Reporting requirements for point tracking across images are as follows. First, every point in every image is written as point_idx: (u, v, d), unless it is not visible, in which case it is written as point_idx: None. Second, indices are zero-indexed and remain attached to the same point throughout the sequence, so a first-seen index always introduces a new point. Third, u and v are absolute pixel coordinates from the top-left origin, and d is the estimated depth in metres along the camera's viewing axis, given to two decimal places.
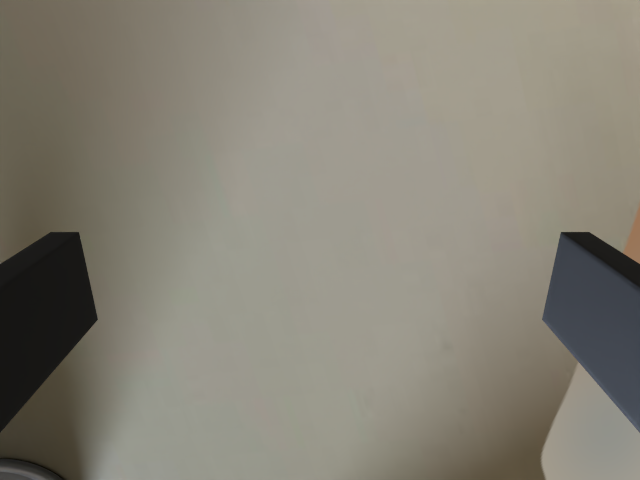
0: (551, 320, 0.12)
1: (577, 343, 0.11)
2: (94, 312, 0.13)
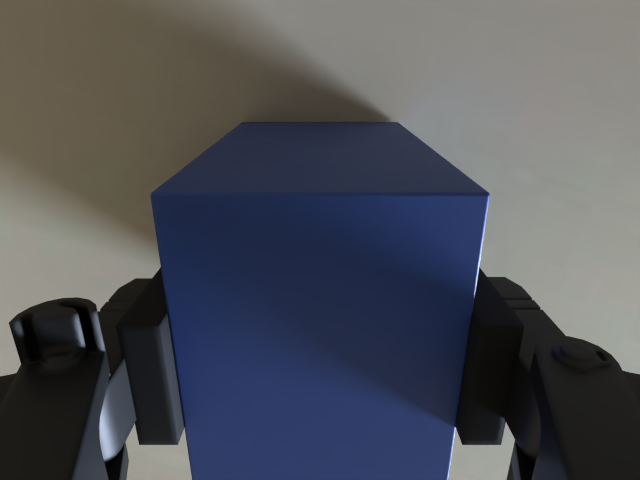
0: None
1: None
2: None
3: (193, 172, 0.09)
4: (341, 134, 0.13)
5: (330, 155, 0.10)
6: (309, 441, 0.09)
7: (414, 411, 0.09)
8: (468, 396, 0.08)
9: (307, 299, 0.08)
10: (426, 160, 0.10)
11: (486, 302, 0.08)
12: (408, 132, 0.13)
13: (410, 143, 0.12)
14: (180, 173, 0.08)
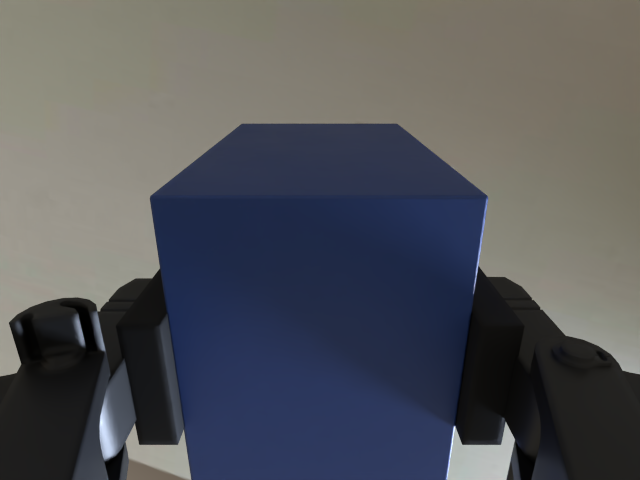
0: None
1: None
2: None
3: (192, 175, 0.09)
4: (340, 136, 0.13)
5: (329, 157, 0.10)
6: (308, 443, 0.09)
7: (412, 412, 0.09)
8: (468, 396, 0.08)
9: (306, 301, 0.08)
10: (425, 162, 0.10)
11: (486, 302, 0.08)
12: (407, 134, 0.13)
13: (409, 145, 0.12)
14: (179, 176, 0.08)
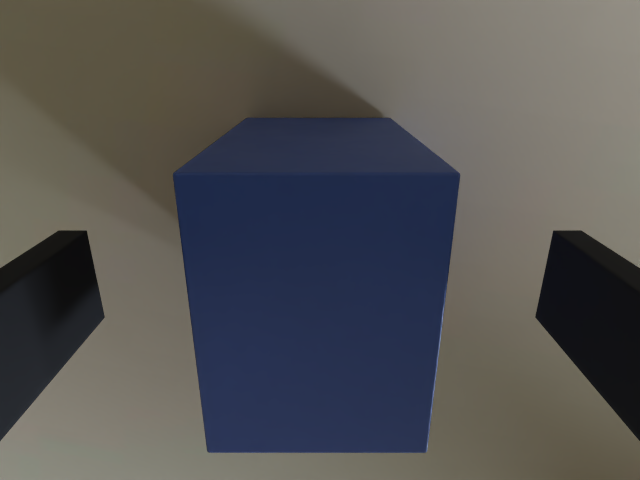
0: (544, 318, 0.12)
1: (569, 340, 0.11)
2: (101, 310, 0.13)
3: (207, 157, 0.10)
4: (337, 128, 0.14)
5: (326, 144, 0.11)
6: (307, 394, 0.10)
7: (398, 366, 0.10)
8: None
9: (305, 265, 0.09)
10: (410, 148, 0.11)
11: None
12: (398, 126, 0.15)
13: (398, 135, 0.13)
14: (196, 158, 0.10)
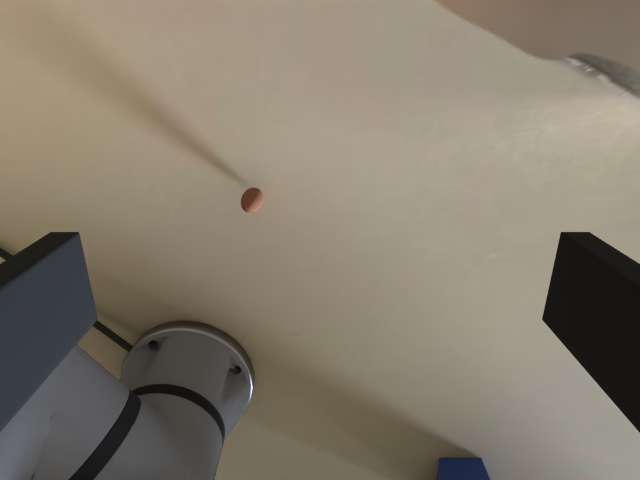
0: (551, 320, 0.12)
1: (577, 343, 0.11)
2: (94, 312, 0.13)
3: None
4: (472, 477, 0.56)
5: None
6: None
7: None
8: None
9: None
10: None
11: None
12: (487, 474, 0.57)
13: None
14: None
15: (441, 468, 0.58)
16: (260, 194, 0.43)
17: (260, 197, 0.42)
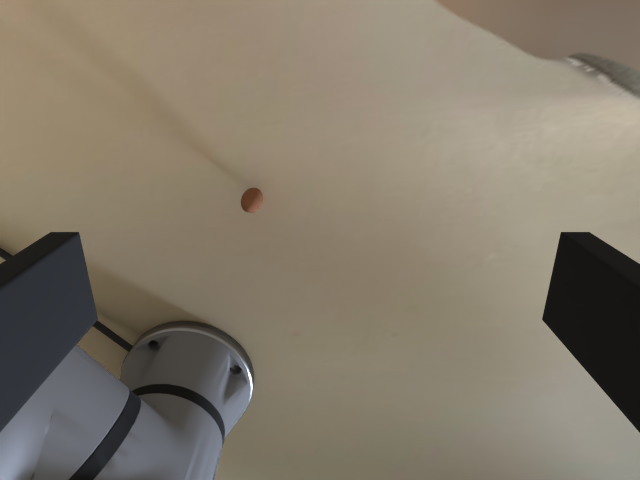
0: (551, 320, 0.12)
1: (577, 343, 0.11)
2: (94, 312, 0.13)
3: None
4: None
5: None
6: None
7: None
8: None
9: None
10: None
11: None
12: None
13: None
14: None
15: None
16: (260, 194, 0.43)
17: (260, 197, 0.42)
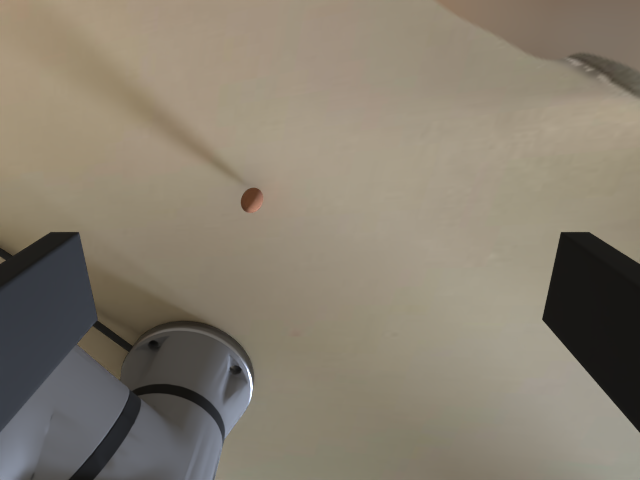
0: (551, 320, 0.12)
1: (577, 343, 0.11)
2: (94, 312, 0.13)
3: None
4: None
5: None
6: None
7: None
8: None
9: None
10: None
11: None
12: None
13: None
14: None
15: None
16: (260, 194, 0.43)
17: (260, 197, 0.42)
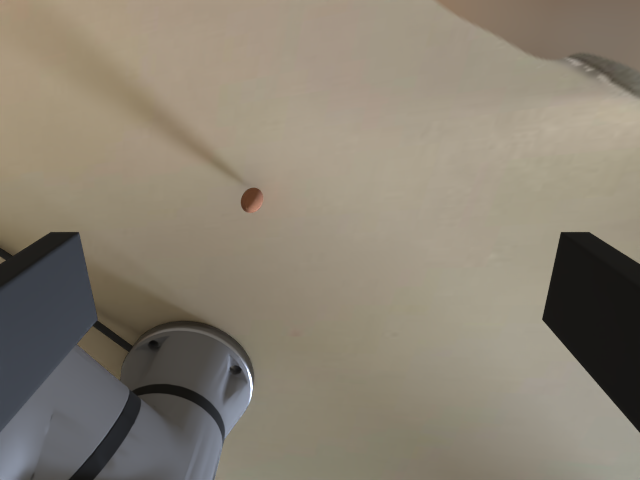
0: (551, 320, 0.12)
1: (577, 343, 0.11)
2: (94, 312, 0.13)
3: None
4: None
5: None
6: None
7: None
8: None
9: None
10: None
11: None
12: None
13: None
14: None
15: None
16: (260, 194, 0.43)
17: (260, 197, 0.42)
